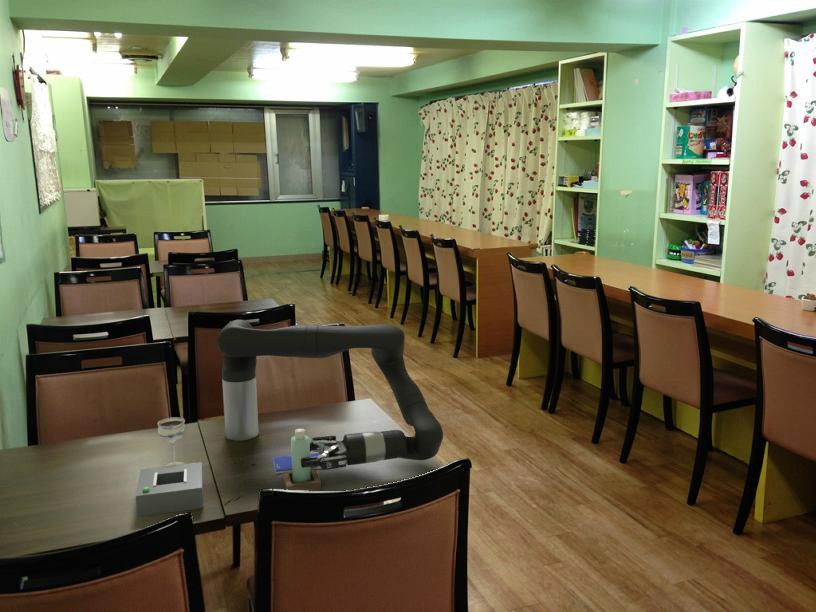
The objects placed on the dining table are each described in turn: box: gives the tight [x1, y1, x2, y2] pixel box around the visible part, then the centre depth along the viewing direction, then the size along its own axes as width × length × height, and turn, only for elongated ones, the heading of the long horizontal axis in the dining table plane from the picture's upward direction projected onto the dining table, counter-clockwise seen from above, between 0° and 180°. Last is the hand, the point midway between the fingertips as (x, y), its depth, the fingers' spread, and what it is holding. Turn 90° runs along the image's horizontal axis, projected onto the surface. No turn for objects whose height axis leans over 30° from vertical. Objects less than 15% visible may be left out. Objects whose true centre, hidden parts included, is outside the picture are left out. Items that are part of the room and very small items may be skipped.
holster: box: [282, 468, 322, 492], centre depth 167 cm, size 8×8×2 cm
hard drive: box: [272, 452, 322, 475], centre depth 178 cm, size 2×8×12 cm
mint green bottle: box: [290, 428, 312, 484], centre depth 165 cm, size 4×4×14 cm
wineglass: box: [157, 417, 186, 466], centre depth 176 cm, size 7×7×12 cm
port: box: [135, 461, 204, 518], centre depth 160 cm, size 14×14×6 cm
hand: (298, 455), depth 165 cm, fingers open, 8 cm apart
